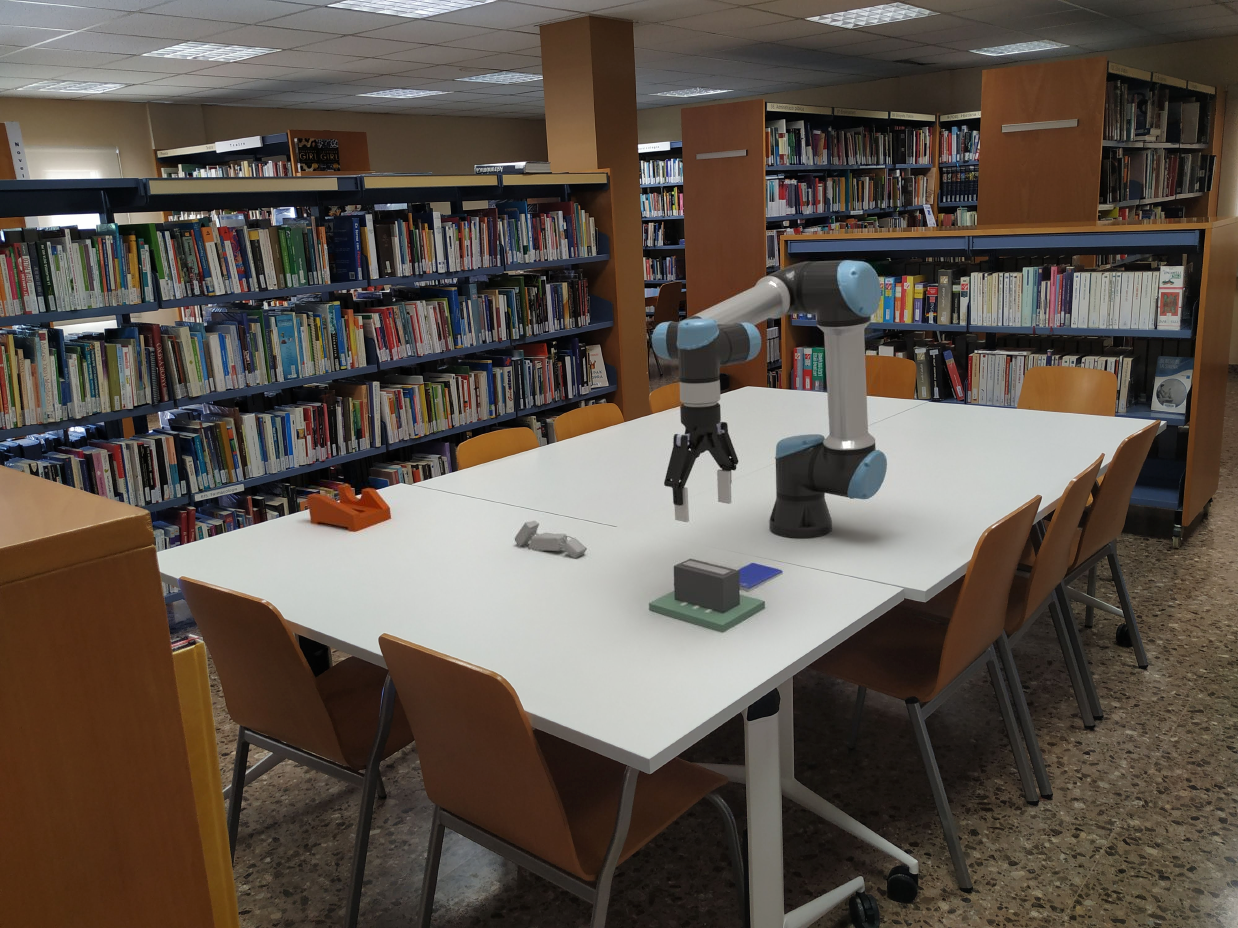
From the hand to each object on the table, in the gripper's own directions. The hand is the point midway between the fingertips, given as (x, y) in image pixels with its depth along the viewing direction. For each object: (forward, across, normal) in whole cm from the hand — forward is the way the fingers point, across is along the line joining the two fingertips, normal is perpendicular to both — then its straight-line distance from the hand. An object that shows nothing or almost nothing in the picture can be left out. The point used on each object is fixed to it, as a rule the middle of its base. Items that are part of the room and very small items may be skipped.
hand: (704, 511), depth 179 cm
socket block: (+19, 0, 0) cm, 19 cm away
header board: (+20, 0, 0) cm, 20 cm away
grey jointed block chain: (+21, -7, -52) cm, 56 cm away
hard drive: (+21, -18, -2) cm, 28 cm away
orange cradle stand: (+21, +7, -116) cm, 119 cm away
